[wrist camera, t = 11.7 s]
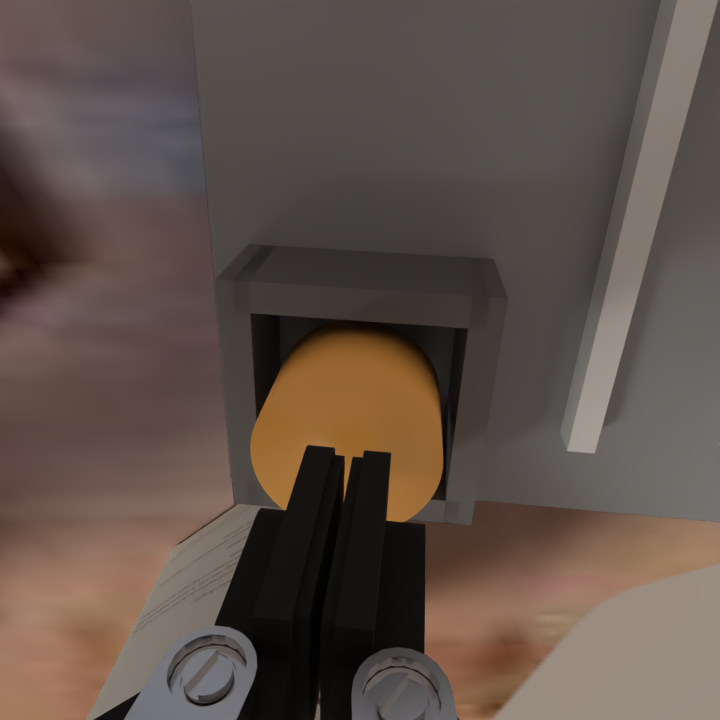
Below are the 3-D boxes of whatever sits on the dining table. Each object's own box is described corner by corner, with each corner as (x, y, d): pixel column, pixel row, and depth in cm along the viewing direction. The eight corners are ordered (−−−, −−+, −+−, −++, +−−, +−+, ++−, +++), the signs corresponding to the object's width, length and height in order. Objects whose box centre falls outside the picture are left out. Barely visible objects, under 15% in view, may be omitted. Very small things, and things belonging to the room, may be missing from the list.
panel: (726, 469, 22) (826, 602, 16) (253, 429, 23) (201, 541, 17) (1193, -676, 10) (2049, -1498, 5) (189, -632, 11) (-17, -1245, 6)
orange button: (431, 465, 17) (433, 542, 14) (281, 452, 17) (254, 524, 14) (448, 325, 15) (453, 383, 12) (276, 313, 15) (245, 368, 12)
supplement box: (280, 637, 28) (188, 1010, 17) (169, 544, 26) (-19, 902, 15) (398, 576, 26) (380, 971, 15) (285, 467, 24) (162, 833, 12)
